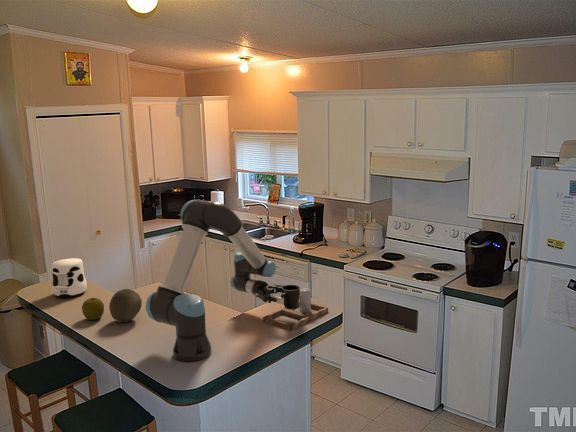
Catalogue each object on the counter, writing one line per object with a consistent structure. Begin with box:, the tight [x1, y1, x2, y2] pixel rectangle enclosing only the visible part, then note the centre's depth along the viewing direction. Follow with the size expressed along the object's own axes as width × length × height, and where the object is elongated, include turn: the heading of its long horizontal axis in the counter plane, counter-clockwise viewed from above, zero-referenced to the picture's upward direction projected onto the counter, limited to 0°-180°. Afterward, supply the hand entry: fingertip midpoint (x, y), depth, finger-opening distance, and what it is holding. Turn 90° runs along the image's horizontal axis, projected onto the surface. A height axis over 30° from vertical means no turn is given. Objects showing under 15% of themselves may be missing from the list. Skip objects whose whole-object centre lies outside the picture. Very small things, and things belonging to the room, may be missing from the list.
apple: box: [81, 297, 105, 321], centre depth 249 cm, size 10×10×11 cm
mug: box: [280, 284, 301, 310], centre depth 238 cm, size 8×12×10 cm
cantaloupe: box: [108, 288, 143, 323], centre depth 245 cm, size 14×14×15 cm
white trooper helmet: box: [51, 257, 88, 298], centre depth 284 cm, size 17×17×18 cm
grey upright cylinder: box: [298, 287, 312, 314], centre depth 250 cm, size 6×6×11 cm
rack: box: [262, 302, 329, 331], centre depth 246 cm, size 27×17×2 cm, turn 140°
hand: (292, 297), depth 236 cm, fingers closed on mug, 12 cm apart
